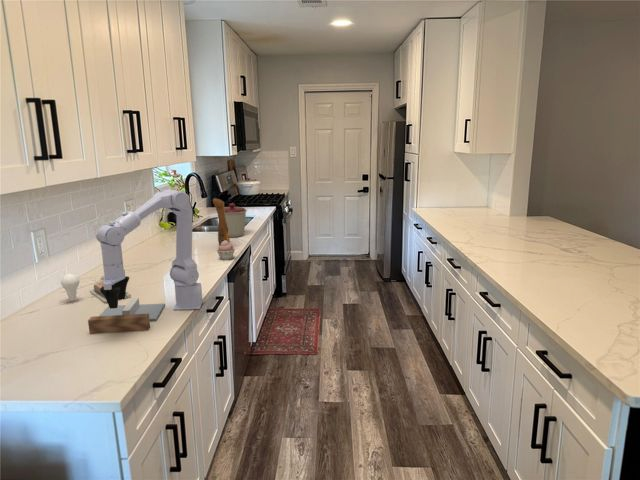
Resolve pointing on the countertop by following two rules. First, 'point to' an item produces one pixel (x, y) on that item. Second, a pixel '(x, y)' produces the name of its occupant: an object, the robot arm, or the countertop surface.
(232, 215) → the canister
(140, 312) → the ridge board
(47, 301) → the countertop surface
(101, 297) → the packaged product
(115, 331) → the walnut batten
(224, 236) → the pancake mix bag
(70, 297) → the lightbulb
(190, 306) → the robot arm
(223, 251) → the cupcake
